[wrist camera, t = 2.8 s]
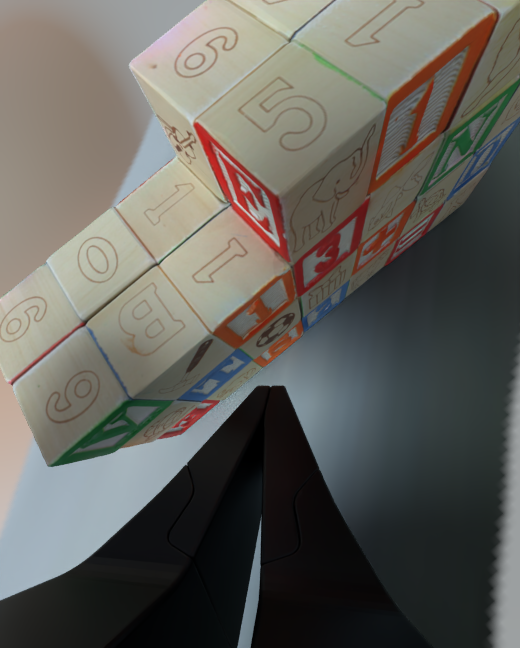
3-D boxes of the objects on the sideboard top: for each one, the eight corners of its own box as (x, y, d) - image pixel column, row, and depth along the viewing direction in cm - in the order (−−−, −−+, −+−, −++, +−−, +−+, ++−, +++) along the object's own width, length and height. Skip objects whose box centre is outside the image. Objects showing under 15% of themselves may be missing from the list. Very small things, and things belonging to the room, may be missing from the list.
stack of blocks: (182, 439, 18) (-97, 506, 6) (129, 355, 19) (-159, 279, 8) (467, 201, 18) (742, -185, 6) (387, 142, 20) (482, -235, 8)
